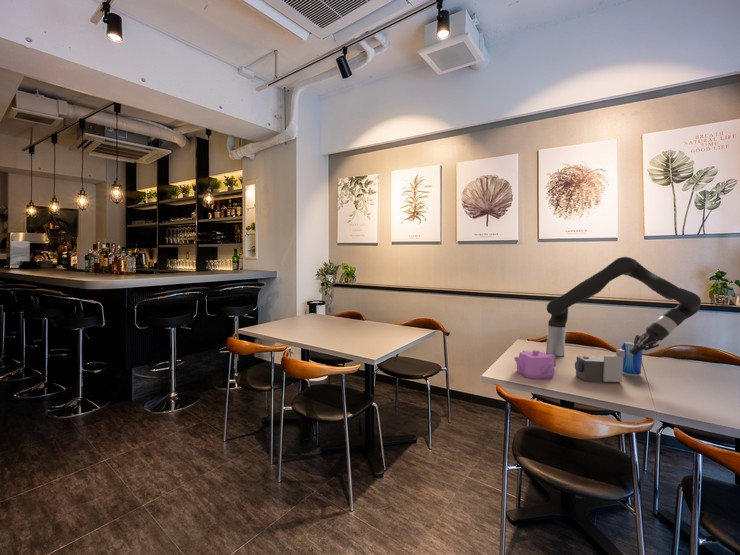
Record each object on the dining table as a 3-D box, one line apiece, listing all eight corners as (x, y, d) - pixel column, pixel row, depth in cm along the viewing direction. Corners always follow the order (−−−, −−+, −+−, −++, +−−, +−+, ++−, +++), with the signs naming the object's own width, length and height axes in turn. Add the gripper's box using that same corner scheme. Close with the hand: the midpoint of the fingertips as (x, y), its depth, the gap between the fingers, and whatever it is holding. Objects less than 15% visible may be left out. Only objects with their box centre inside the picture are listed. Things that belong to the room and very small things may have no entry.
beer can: (621, 370, 184) (623, 340, 183) (642, 374, 178) (644, 343, 177) (618, 374, 178) (620, 342, 177) (639, 378, 172) (641, 346, 171)
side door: (605, 382, 163) (607, 350, 162) (601, 379, 166) (603, 348, 165) (623, 382, 163) (625, 350, 162) (619, 380, 166) (621, 349, 165)
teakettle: (555, 373, 178) (557, 349, 177) (551, 383, 164) (552, 357, 163) (520, 367, 188) (520, 344, 187) (512, 376, 173) (513, 351, 173)
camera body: (581, 381, 166) (582, 359, 165) (572, 375, 174) (573, 354, 174) (620, 383, 165) (621, 360, 164) (609, 377, 173) (610, 355, 172)
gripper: (645, 319, 168) (617, 344, 170) (666, 325, 155) (636, 351, 156) (656, 330, 168) (628, 355, 170) (678, 337, 155) (647, 363, 156)
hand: (632, 353), depth 163 cm, fingers closed
